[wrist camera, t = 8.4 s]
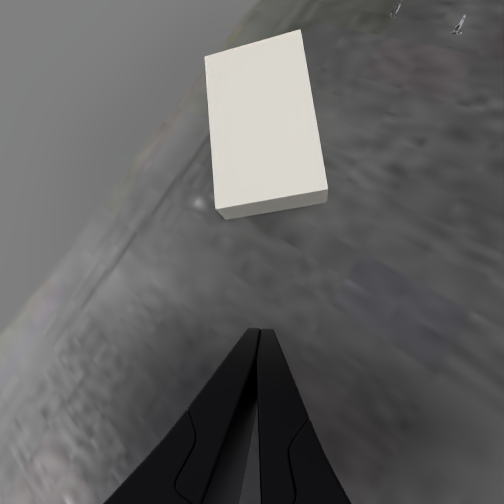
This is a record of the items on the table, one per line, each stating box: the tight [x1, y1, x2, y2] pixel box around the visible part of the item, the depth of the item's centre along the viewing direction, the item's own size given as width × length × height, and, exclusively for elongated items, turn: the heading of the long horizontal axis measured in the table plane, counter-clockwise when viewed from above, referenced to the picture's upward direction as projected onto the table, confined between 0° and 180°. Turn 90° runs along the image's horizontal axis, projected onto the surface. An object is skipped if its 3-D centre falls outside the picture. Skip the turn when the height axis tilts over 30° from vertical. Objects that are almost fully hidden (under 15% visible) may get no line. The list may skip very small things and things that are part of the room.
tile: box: [205, 30, 328, 220], centre depth 20 cm, size 2×7×12 cm
